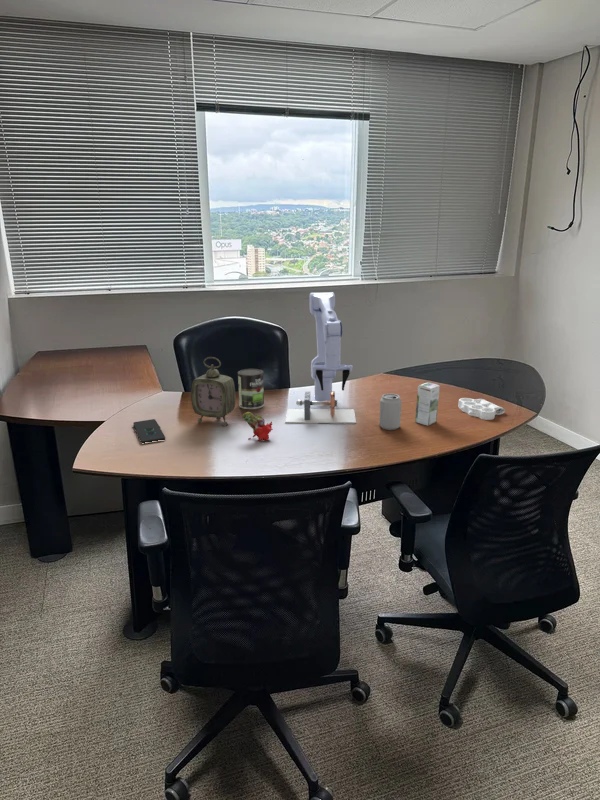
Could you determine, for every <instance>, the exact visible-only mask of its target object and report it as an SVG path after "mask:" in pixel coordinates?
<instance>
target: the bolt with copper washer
mask: <svg viewBox="0 0 600 800" xmlns="http://www.w3.org/2000/svg"><path fill="white" fill-rule="evenodd" d="M296 406H298V407H302V406H304V400H301V399H297V401H296ZM310 406H329V407H330V408H329V409H330V415H335V409H336V408H337V407H338V399H336V391H334V390H332V391H331V395H330V401H314V400H310Z"/></svg>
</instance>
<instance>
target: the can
mask: <svg viewBox="0 0 600 800" xmlns="http://www.w3.org/2000/svg"><path fill="white" fill-rule="evenodd" d="M401 412H402V399H401V397H400V395H399V394H397V393H384V394H382V395H381V398H380V400H379V417H378V418H379V420H378V421H379V422H378V426H379V427H381V429H383V430H387V431H394V430H398V428H400V427H401V417H402V413H401Z"/></svg>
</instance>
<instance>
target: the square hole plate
mask: <svg viewBox="0 0 600 800" xmlns="http://www.w3.org/2000/svg"><path fill="white" fill-rule="evenodd" d="M303 401H304V405H303V406H304V407H303V409H304V420H310V409H311V405H310V401H311V391H304V400H303Z"/></svg>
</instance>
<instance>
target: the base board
mask: <svg viewBox="0 0 600 800" xmlns="http://www.w3.org/2000/svg"><path fill="white" fill-rule="evenodd" d="M317 423H344V424H345V425H346V424H347V425H349V424H350V425H351V424H352V425H355V424H357V422H356V415H355V409H352V408H351V409H348V408H347V409H346V408H345V409H343V408H341V409H340V408H339V409H338V408H335V415H330V408H328V409H327V408H325V409H324V408H318V409H317V408H310V420H304V408H287V411H286V416H285V422H284V424H317Z"/></svg>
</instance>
